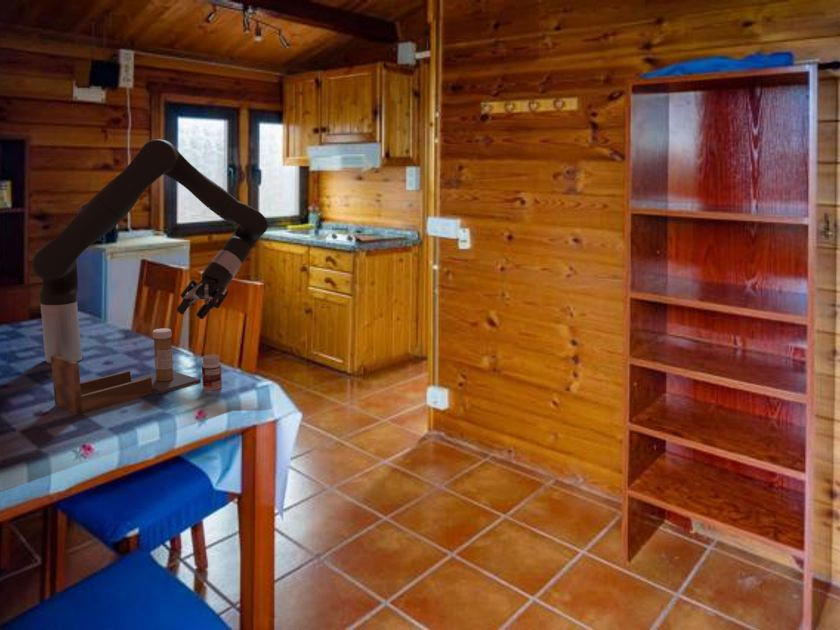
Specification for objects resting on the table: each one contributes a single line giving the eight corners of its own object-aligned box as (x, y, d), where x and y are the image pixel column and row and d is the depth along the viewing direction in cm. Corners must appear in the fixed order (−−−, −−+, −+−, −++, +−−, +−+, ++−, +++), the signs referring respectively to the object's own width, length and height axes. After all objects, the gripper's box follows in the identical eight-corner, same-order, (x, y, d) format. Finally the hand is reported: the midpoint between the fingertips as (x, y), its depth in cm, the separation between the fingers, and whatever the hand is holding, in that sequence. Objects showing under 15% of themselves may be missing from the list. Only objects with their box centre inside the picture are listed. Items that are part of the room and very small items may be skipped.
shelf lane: (55, 405, 158) (50, 356, 155) (129, 385, 173) (125, 340, 171) (78, 414, 152) (74, 363, 150) (152, 393, 168) (149, 346, 165)
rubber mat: (128, 383, 175) (127, 380, 175) (167, 372, 185) (167, 369, 185) (160, 393, 167) (160, 390, 167) (200, 382, 177) (200, 379, 177)
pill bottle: (205, 384, 175) (203, 353, 173) (223, 384, 176) (222, 353, 174) (200, 390, 171) (199, 358, 169) (219, 390, 171) (218, 358, 169)
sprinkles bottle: (157, 377, 178) (154, 328, 175) (175, 376, 179) (172, 327, 176) (154, 382, 173) (150, 332, 171) (172, 381, 174) (169, 331, 171)
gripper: (197, 258, 191) (164, 303, 184) (231, 263, 183) (197, 310, 176) (213, 275, 196) (181, 319, 189) (246, 281, 189) (214, 327, 182)
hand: (189, 315), depth 183 cm, fingers open, 8 cm apart
